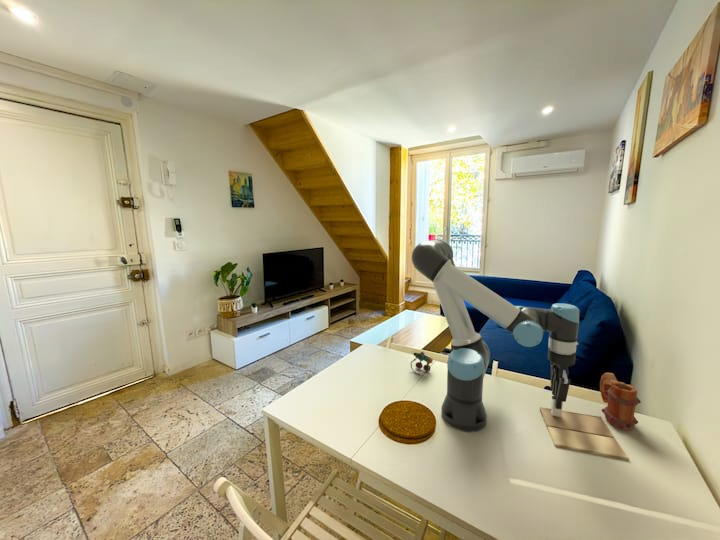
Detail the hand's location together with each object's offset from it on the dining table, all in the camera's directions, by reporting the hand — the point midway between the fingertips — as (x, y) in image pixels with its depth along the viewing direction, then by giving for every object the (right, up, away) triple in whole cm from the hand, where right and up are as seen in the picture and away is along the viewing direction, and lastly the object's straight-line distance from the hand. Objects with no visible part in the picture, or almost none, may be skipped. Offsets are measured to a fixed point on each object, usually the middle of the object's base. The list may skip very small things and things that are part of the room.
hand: (556, 414), depth 100 cm
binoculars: (-38, +3, +36) cm, 53 cm away
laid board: (+1, -4, -11) cm, 12 cm away
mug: (+20, -2, 0) cm, 20 cm away
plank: (+4, -2, -3) cm, 5 cm away
